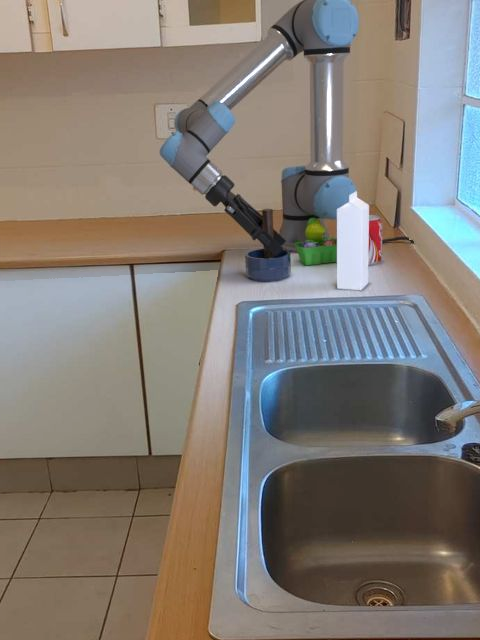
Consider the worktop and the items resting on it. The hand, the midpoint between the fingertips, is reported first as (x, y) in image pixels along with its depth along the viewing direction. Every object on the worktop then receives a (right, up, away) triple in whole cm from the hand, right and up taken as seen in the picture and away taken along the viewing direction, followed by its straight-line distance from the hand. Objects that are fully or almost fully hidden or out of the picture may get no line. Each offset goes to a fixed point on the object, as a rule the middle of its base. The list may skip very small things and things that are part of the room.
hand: (280, 248), depth 189 cm
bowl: (-3, -7, +3) cm, 8 cm away
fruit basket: (+11, -1, +15) cm, 18 cm away
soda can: (+24, -2, +10) cm, 26 cm away
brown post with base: (-3, -6, +3) cm, 7 cm away
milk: (+17, -11, -9) cm, 22 cm away
